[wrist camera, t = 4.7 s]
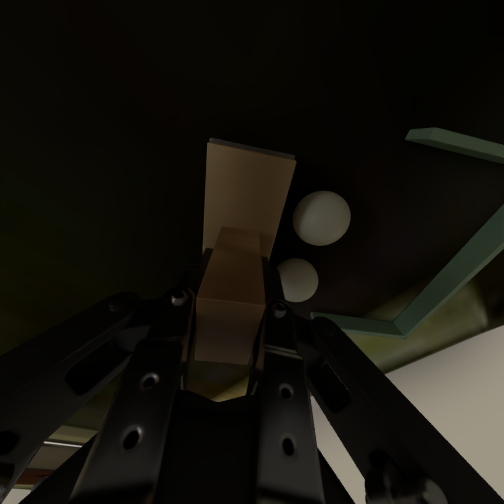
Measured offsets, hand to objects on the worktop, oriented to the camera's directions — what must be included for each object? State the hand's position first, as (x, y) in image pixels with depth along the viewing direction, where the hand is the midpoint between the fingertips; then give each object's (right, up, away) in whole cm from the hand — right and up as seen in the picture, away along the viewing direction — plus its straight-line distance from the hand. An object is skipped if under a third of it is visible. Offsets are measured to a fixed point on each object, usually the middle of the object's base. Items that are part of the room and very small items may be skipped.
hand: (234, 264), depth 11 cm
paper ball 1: (+5, -2, +5) cm, 7 cm away
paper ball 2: (+6, +3, +2) cm, 7 cm away
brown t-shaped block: (0, +2, +4) cm, 5 cm away
